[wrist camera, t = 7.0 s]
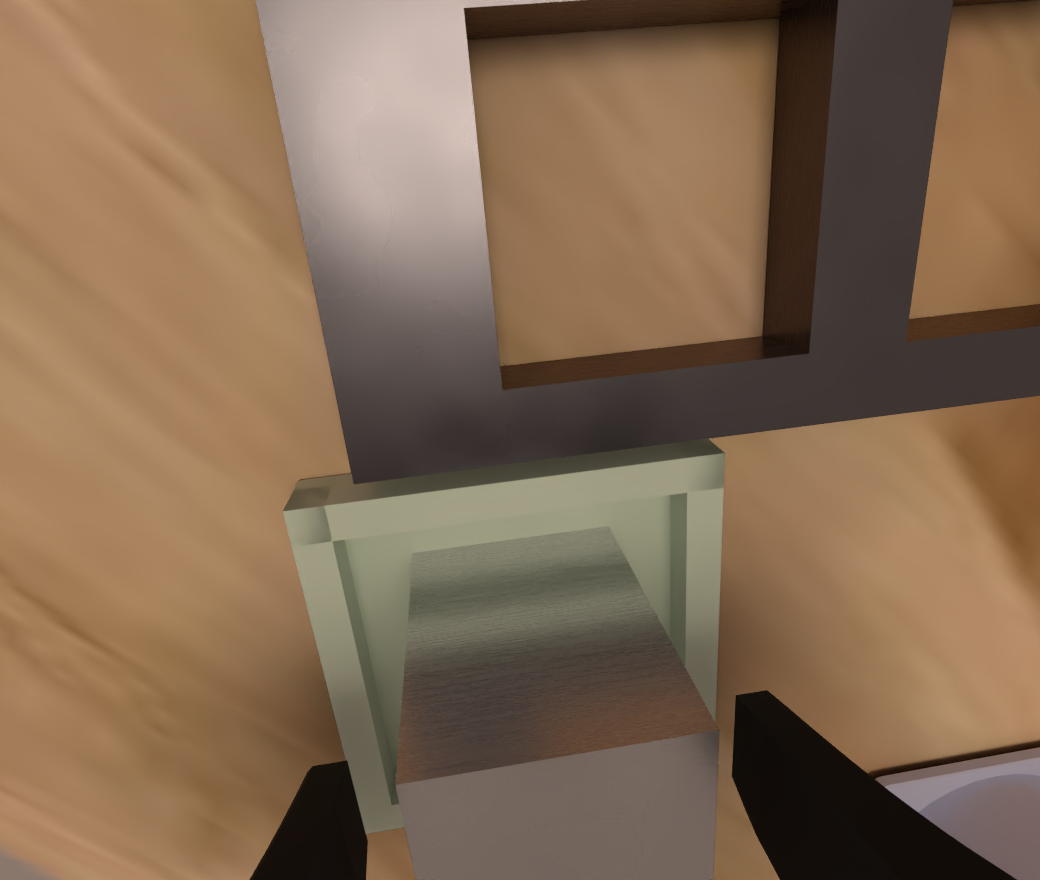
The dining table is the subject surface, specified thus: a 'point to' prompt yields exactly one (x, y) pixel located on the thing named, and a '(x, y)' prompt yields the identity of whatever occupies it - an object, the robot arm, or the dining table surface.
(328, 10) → the dark grey flat frame
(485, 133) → the dining table surface
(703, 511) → the tray
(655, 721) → the grey rectangular block
